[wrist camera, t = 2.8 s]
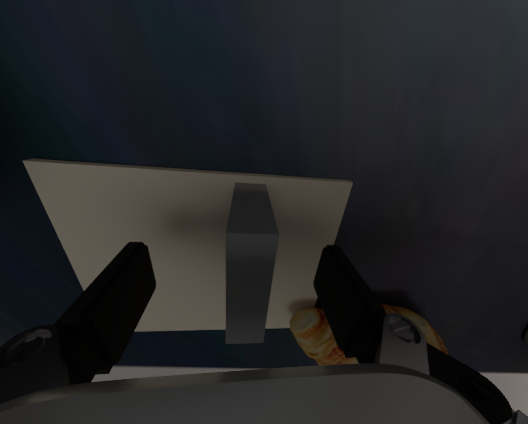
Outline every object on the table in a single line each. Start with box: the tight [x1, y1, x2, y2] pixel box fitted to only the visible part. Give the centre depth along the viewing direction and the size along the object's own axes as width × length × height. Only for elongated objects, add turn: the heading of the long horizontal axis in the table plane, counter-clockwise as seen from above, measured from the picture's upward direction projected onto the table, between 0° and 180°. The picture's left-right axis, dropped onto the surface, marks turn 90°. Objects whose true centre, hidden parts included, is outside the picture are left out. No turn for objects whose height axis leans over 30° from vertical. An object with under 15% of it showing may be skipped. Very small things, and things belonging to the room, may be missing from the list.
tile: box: [226, 182, 279, 344], centre depth 11 cm, size 2×7×6 cm, turn 175°
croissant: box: [290, 304, 450, 366], centre depth 19 cm, size 21×10×8 cm, turn 65°
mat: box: [23, 159, 353, 331], centre depth 16 cm, size 20×16×1 cm
